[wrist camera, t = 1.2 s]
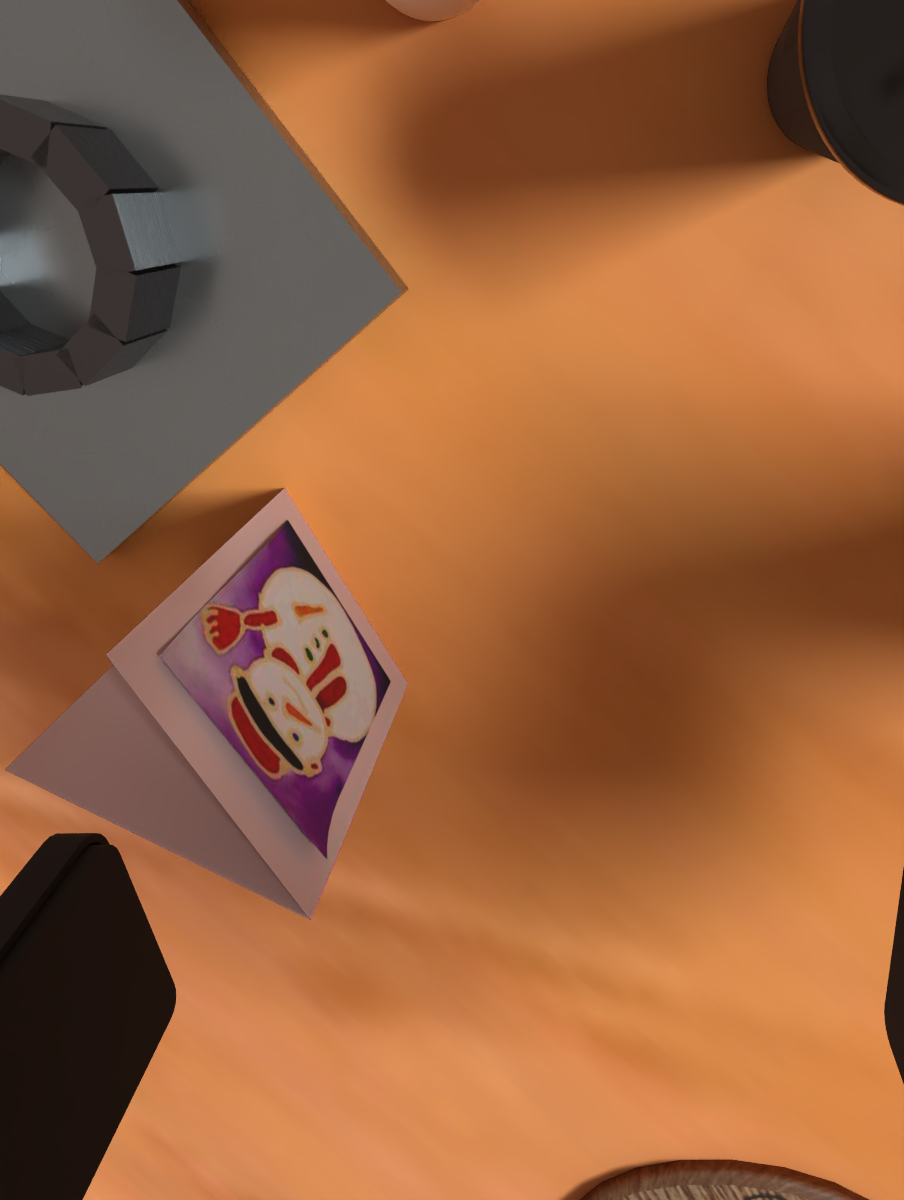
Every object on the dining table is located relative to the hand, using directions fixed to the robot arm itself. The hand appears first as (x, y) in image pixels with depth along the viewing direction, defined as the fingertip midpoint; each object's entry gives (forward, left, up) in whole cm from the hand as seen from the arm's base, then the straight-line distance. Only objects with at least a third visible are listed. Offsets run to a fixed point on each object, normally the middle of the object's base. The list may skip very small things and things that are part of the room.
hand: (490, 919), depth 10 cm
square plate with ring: (+13, -18, -27) cm, 35 cm away
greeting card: (+17, 0, -27) cm, 32 cm away
